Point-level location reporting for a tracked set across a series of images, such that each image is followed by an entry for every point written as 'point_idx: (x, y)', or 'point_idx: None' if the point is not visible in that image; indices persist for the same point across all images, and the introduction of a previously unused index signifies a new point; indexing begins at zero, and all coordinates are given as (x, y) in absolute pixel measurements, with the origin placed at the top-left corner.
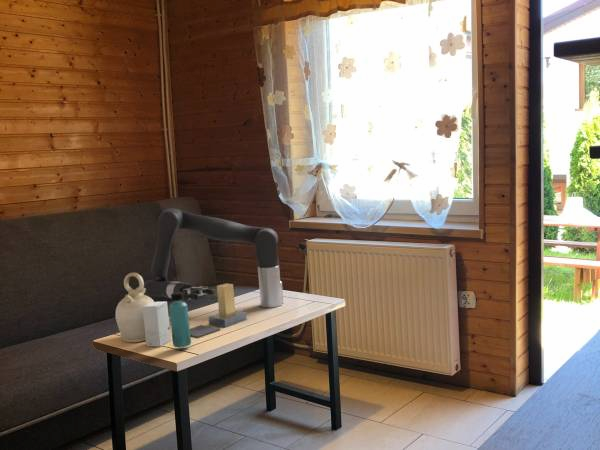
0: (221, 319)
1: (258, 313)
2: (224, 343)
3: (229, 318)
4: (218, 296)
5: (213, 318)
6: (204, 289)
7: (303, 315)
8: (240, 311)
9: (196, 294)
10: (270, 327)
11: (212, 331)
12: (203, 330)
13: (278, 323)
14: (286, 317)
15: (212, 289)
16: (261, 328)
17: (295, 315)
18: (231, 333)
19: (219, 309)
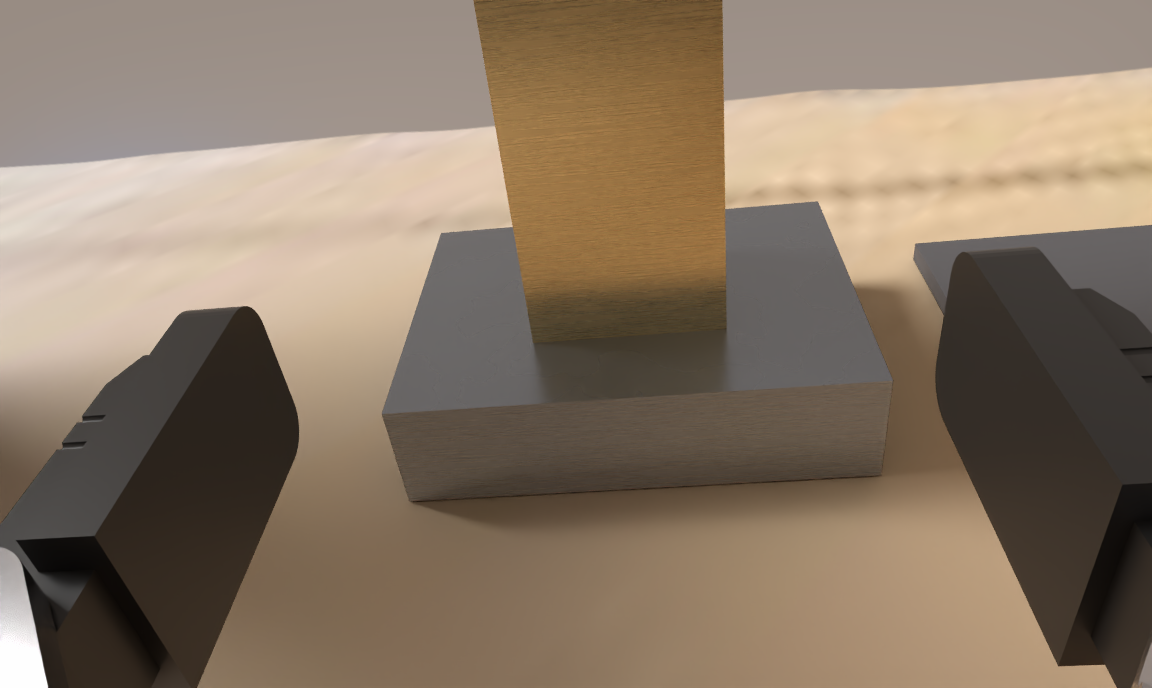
0: (827, 229)
1: None
2: (1079, 86)
3: (731, 212)
4: (719, 9)
5: (863, 320)
6: (53, 667)
7: (223, 149)
8: (425, 285)
9: (1019, 247)
10: None
11: (1038, 236)
12: (1124, 301)
13: (472, 137)
14: (297, 176)
15: (191, 314)
16: None
17: (228, 171)
18: (891, 167)
19: (723, 235)
